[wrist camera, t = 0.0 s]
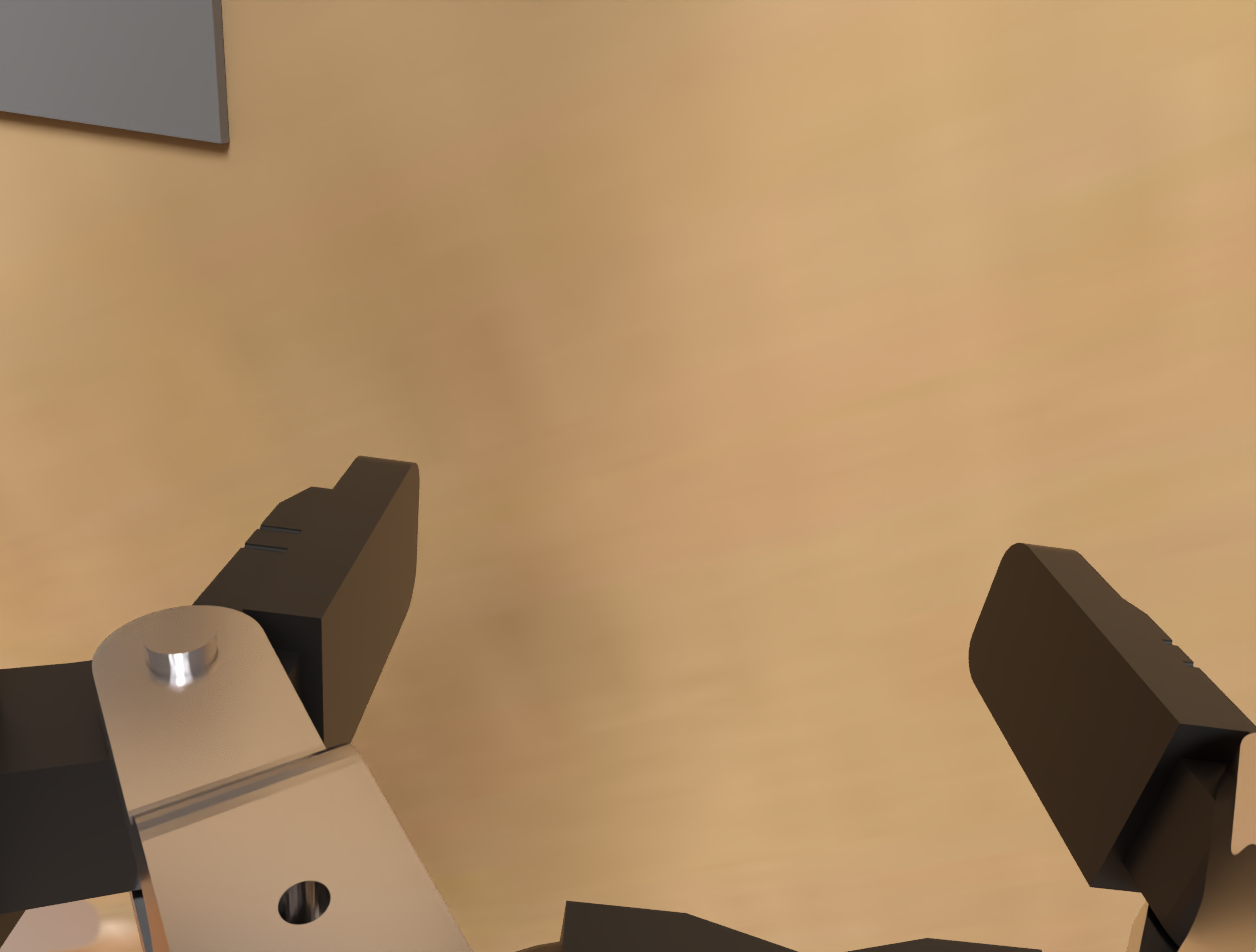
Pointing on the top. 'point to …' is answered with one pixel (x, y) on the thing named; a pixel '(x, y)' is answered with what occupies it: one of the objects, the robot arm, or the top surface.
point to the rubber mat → (117, 64)
